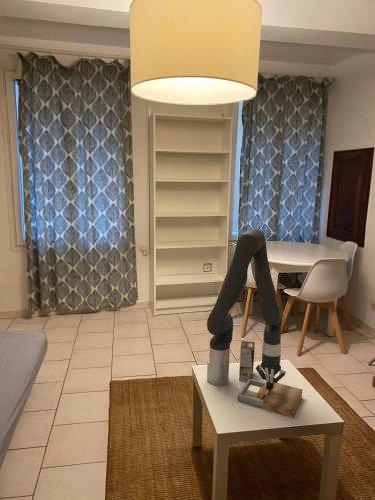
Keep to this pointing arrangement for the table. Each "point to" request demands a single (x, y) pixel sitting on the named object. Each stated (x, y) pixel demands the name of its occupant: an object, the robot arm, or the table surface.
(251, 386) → the tile
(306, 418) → the table surface
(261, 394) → the tile
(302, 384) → the table surface
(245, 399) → the bin
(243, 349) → the coffee box
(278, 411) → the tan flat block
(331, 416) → the table surface
